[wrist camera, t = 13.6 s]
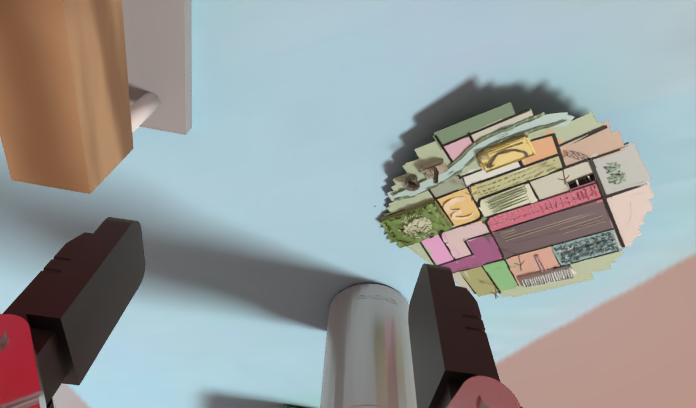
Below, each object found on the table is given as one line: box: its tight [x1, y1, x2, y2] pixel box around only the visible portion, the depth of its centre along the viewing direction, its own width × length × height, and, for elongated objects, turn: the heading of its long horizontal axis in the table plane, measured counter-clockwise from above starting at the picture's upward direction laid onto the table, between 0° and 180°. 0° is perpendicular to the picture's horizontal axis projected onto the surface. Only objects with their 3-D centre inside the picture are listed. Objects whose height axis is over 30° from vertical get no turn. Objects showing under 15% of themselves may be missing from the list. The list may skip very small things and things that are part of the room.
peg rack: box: [122, 0, 192, 135], centre depth 31 cm, size 16×8×8 cm, turn 169°
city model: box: [356, 102, 654, 298], centre depth 41 cm, size 25×23×6 cm
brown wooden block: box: [0, 0, 133, 194], centre depth 25 cm, size 4×13×6 cm, turn 169°
